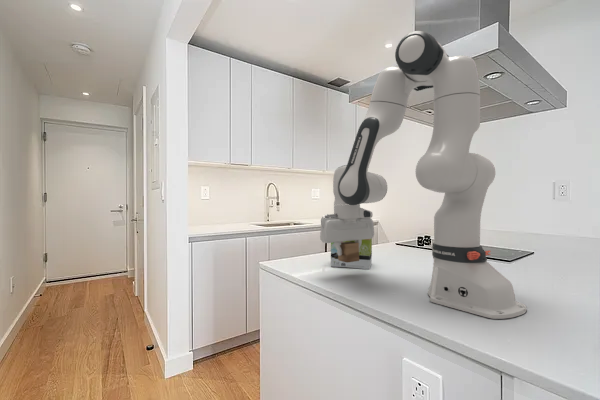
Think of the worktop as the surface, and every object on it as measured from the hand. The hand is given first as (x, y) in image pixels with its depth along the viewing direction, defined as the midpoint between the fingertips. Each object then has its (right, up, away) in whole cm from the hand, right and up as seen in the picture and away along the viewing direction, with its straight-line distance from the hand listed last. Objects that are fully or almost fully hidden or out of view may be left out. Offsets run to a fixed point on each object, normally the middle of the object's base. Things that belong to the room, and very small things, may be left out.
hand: (348, 254), depth 105 cm
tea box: (+4, -8, +17) cm, 19 cm away
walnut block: (0, -2, 0) cm, 2 cm away
